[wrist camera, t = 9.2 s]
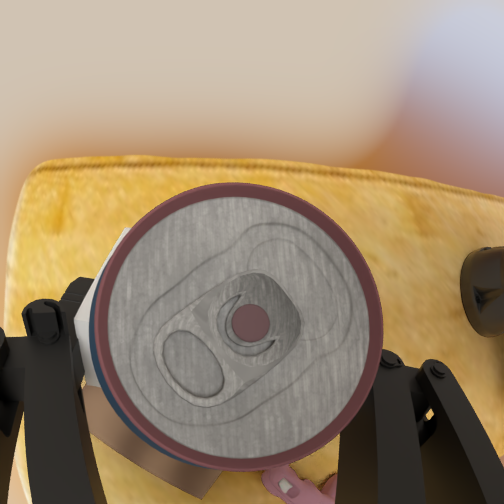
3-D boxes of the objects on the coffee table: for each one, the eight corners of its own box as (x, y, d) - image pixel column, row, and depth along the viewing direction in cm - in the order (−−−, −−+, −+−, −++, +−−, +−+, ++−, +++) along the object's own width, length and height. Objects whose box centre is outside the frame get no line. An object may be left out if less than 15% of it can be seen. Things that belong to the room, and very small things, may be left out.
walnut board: (259, 408, 30) (263, 411, 29) (200, 494, 26) (201, 499, 24) (129, 324, 30) (127, 322, 29) (71, 411, 26) (66, 413, 24)
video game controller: (257, 454, 30) (251, 493, 23) (287, 432, 30) (287, 471, 23) (316, 493, 29) (319, 532, 22) (345, 473, 29) (354, 512, 22)
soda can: (215, 262, 18) (277, 117, 7) (287, 358, 17) (447, 342, 6) (114, 329, 16) (7, 267, 5) (190, 432, 15) (222, 554, 4)
